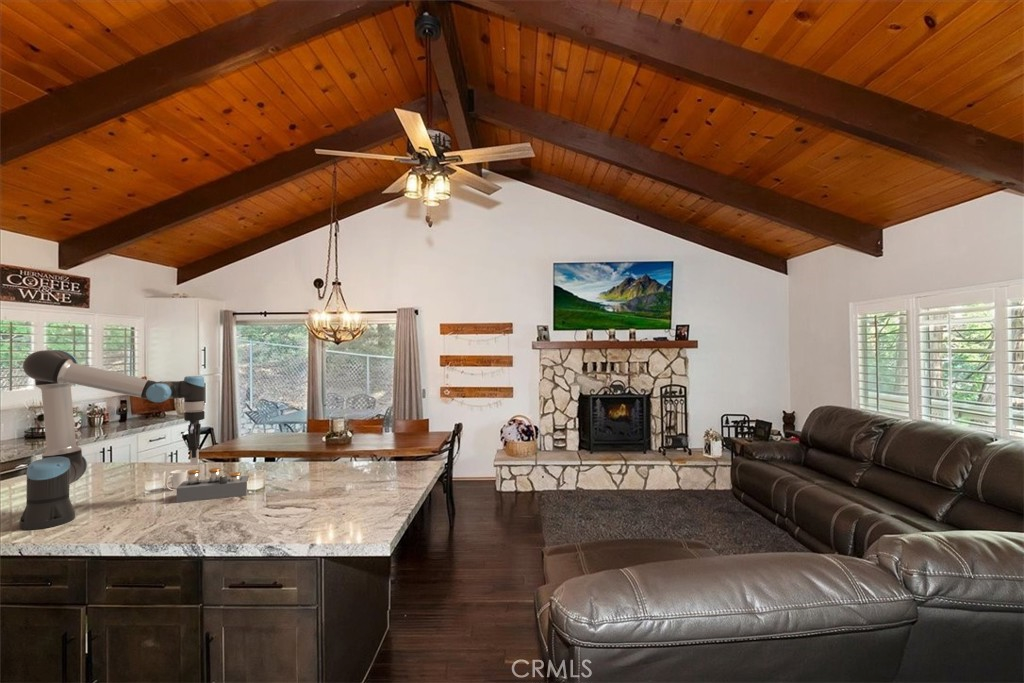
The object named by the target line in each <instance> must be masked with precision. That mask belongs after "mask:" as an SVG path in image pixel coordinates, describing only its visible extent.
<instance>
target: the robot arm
mask: <svg viewBox="0 0 1024 683" xmlns="http://www.w3.org/2000/svg"><path fill="white" fill-rule="evenodd" d="M22 363H23V364H22V368H23V371H24V373H25V375H27V376H28V377H29V378H30V379H33V380H34V382H35V387H37V388H38V389H40V392H41V399H42V400H41V401H42V411H43V422H44V432H45V445H46V450H45V451H44V452H43V453H42V454H41V459H36V460H34V461H32V462H30V463H28V465H27V467H26V468H27V469H26V473H25V474H26V475H25V476H26V498H25V499H26V502H25V508H24V510H23V512H22V514H21V517H20V519H19V524H18V526H19V527H18V528H19V529H20V530H30V531H31V530H41V529H46V528H52V527H56V526H59V525H60V526H61V525H64V524H67V523H69V522H71V521H73V520H75V518H76V511H75V508H74V506H73V504H72V501H71V499H70V487H71V486H70V485H72V484H73V483H75V482H77V481H78V480H79V479H81V478H82V477H83V475H84V474H85V473H86V471H87V468H88V462H87V460H86V458H85V457H84V456H83V451H82V450H83V449H82V447H80V446H78V445H77V441H76V431H75V430H76V428H75V419H74V418H75V417H74V409H73V398H72V396H73V395H72V387H73V385H76V386H77V385H78V386H83V387H88V388H92V389H97V390H103V391H107V392H111V393H117V394H119V395H120V394H121V395H126V396H130V397H136V398H140V399H145V400H149V401H150V402H152V403H163V402H166V401H167V400H170V399H171V400H172V399H184V402H183V410H184V412H183V420H184V421H185V422H189V425H188V429H187V433H188V445H189V448H188V452H189V451H190V466H198V465H199V450H201V448H202V447H200V446H201V444H200V443H201V442H200V440H201V439H200V438H201V435H200V434H201V427H202V426H201V425H202V424H201V423H200V421H203V420H204V419H205V418H206V417H205V414H206V413H205V406H206V405H207V403H206V402H205V400H206V399H205V391H206V389H205V387H206V386H205V378H204V376H202V375H189V376H188V375H187V376H185V377H184V379H183V380H179V381H177V380H174V381H170V380H169V381H164V380H163V381H162V380H161V381H160V380H159V381H155V380H154V381H153V380H149V379H146V378H141V377H137V376H132V375H129V374H128V375H127V374H125V373H124V374H123V373H119V372H114V371H109V370H106V369H102V368H98V367H97V368H96V367H92V366H87V365H84V364H79V362H78V360H77V358H76V357H75V356H74V355H73V354H72V353H70V352H67V351H64V350H61V349H60V350H58V349H57V350H56V349H53V350H49V349H48V350H37V351H35V352H31V353H30V354H29V355H28V356H27V357H25V359H24V360H23V362H22Z"/></svg>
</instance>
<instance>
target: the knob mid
mask: <svg viewBox="0 0 1024 683" xmlns="http://www.w3.org/2000/svg"><path fill="white" fill-rule="evenodd" d="M221 471H222V468H221V467H213V468H209V469H208V472H209V479H210V482H209V484H210V483H220V476H221Z"/></svg>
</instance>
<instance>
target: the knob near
mask: <svg viewBox="0 0 1024 683" xmlns="http://www.w3.org/2000/svg"><path fill="white" fill-rule="evenodd" d="M200 473H201V470H200V469H192V470H188V471H187V481H188V485H199V480H200Z"/></svg>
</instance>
